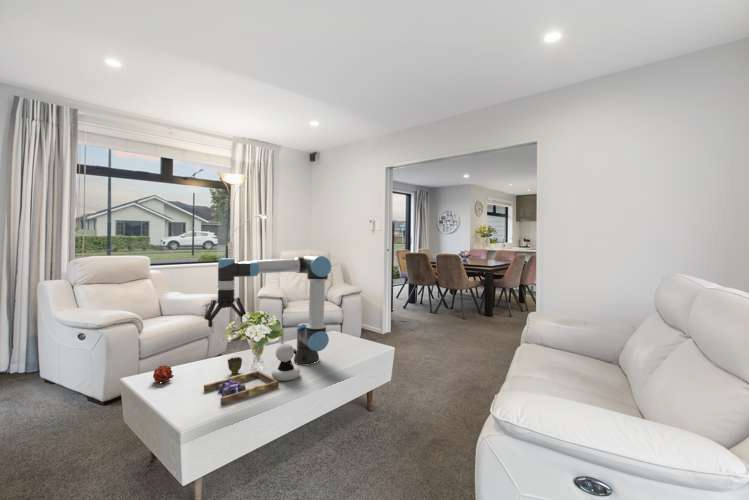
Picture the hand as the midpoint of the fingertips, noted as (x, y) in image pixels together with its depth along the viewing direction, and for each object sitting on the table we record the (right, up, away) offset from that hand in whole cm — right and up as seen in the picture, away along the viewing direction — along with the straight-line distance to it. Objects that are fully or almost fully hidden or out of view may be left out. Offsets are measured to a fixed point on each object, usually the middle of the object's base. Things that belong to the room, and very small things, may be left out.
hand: (225, 331), depth 176 cm
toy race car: (+6, -27, -10) cm, 30 cm away
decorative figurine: (+28, -27, +11) cm, 40 cm away
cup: (-1, -27, +15) cm, 31 cm away
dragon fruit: (-33, -26, +2) cm, 42 cm away
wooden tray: (+10, -27, -6) cm, 29 cm away
